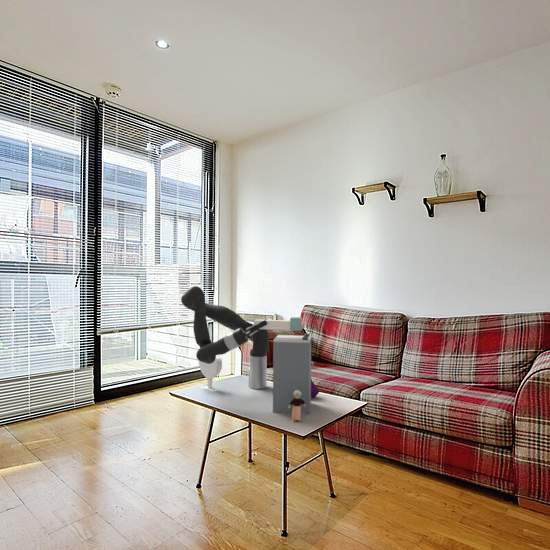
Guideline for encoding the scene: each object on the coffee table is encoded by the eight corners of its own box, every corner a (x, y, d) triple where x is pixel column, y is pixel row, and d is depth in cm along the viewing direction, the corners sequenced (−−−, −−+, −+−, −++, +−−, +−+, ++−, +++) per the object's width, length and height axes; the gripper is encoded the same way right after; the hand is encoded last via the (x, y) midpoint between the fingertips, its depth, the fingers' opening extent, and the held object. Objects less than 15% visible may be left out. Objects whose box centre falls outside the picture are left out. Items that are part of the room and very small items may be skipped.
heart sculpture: (222, 390, 215) (223, 356, 215) (215, 392, 211) (215, 357, 212) (204, 385, 226) (204, 352, 226) (197, 387, 222) (197, 354, 222)
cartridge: (253, 329, 188) (253, 317, 188) (255, 327, 193) (255, 316, 193) (301, 330, 185) (301, 318, 185) (301, 329, 190) (302, 317, 190)
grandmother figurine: (291, 423, 166) (291, 392, 166) (287, 420, 170) (287, 389, 170) (307, 420, 169) (307, 390, 170) (303, 417, 173) (303, 388, 173)
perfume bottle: (299, 397, 204) (299, 361, 204) (308, 394, 209) (308, 359, 209) (311, 400, 199) (311, 363, 199) (320, 397, 204) (320, 361, 204)
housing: (272, 411, 180) (273, 337, 181) (277, 401, 196) (278, 332, 197) (309, 413, 178) (309, 337, 179) (310, 403, 194) (311, 333, 195)
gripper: (228, 333, 185) (260, 315, 183) (235, 330, 199) (265, 313, 197) (236, 348, 184) (268, 330, 182) (242, 343, 198) (273, 326, 196)
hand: (267, 321), depth 190 cm, fingers closed on cartridge, 4 cm apart
